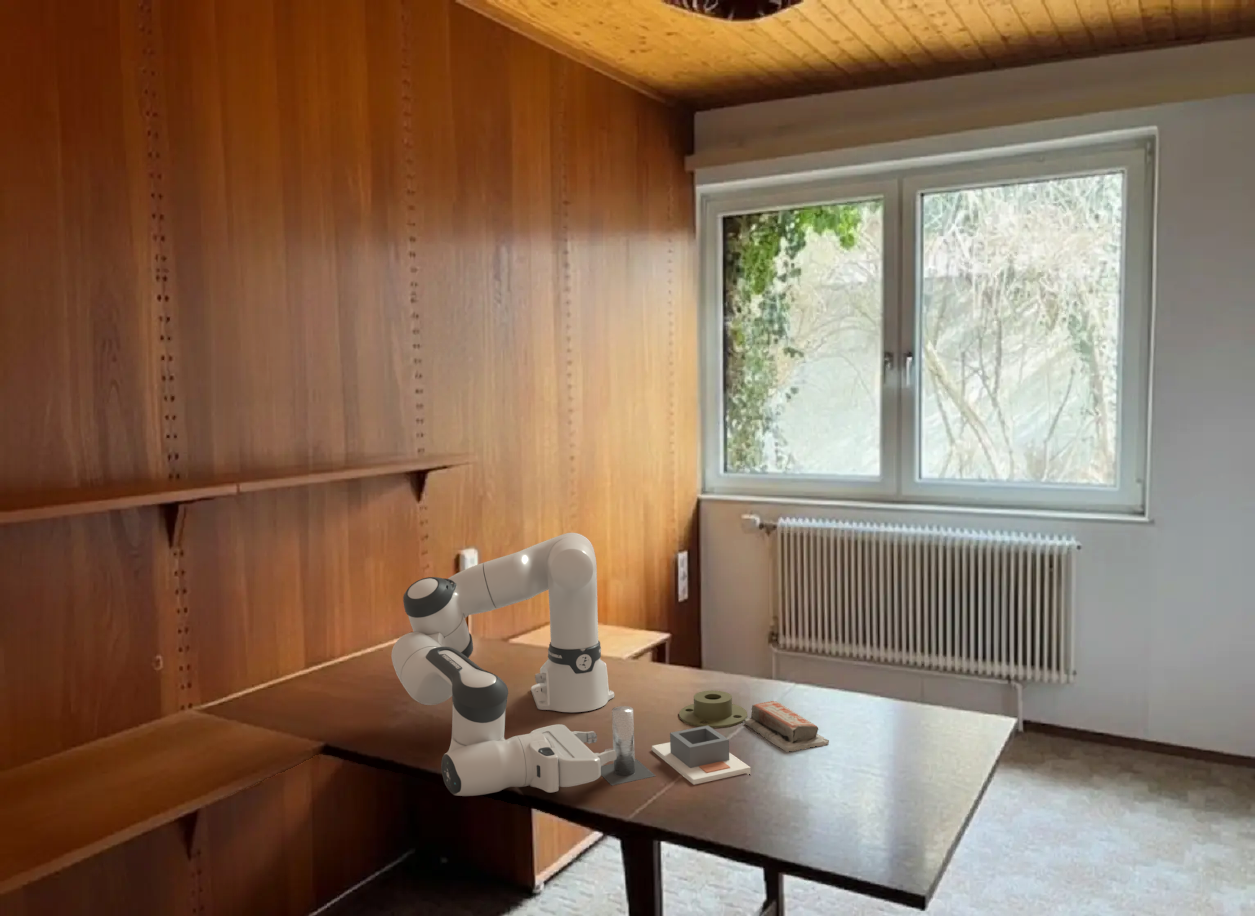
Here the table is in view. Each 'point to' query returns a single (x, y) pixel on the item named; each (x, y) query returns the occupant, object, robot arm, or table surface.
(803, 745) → the packaged product
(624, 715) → the barrel peg
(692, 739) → the mounting plate
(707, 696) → the flange
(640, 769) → the pad
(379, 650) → the table surface
